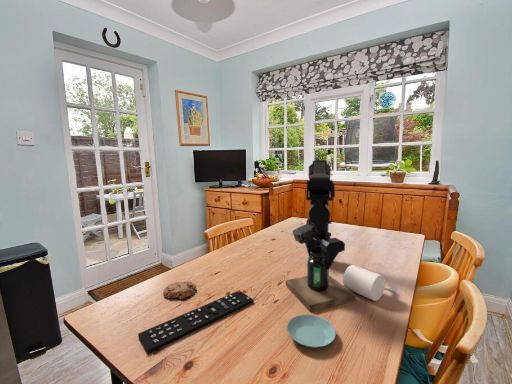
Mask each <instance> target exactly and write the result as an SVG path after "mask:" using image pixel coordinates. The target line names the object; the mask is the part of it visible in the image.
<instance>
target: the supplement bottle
mask: <svg viewBox="0 0 512 384" xmlns="http://www.w3.org/2000/svg"><path fill="white" fill-rule="evenodd" d="M320 250H321V249H313V250H311V253H310V257H311V258H309V257H308V258H309V259H308V258H307V259H308V260H307V261H306V262H307V263H306V267H307V269H306V270H307V273H306V274H307V275H306V276H307V285H308V287H309V288H310V289H312V290H315V291H324V290H326V289H327V288H328V286H329V275H330V268H329V269H328V270H326V269H325V264H324V254H323V253H322V252H321V251H320Z"/></svg>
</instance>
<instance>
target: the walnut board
mask: <svg viewBox="0 0 512 384" xmlns="http://www.w3.org/2000/svg"><path fill="white" fill-rule="evenodd" d="M285 287H287V289H288V290H289V291H290V292H291V293H292V294H293V295H294V296H295V297H296V299H297V300H299V301H300V303H301V304H302V306H304V307H305V308H306V309H307V311H308V312H313V311H317V310H323V309H326V308H330V307H334V306H337V305H343V304H346V303H350V302H354V301H356V294H355V292H354V291H351V290H349V289H347V288H346V287H345V286H344V284H342V283H341V282H339V280H336V279H335V278H334V277H332V276H331V275H330V274H329V286H328V288H327V289H326V290H324V291H315V290H312V289H310V288H309V287H308V285H307V275H305V276H300V277H297V278H296V277H295V278H291V279H286V280H285Z"/></svg>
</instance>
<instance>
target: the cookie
mask: <svg viewBox="0 0 512 384" xmlns="http://www.w3.org/2000/svg"><path fill="white" fill-rule="evenodd" d="M196 289H197V284H195V283H193V282H192V281H175V282H173V283H170V284H168V285H167V286H166V287H165V288H164V289H163V293H162V295H163V297H164V298H167V299H175V298H176V299H178V300H183V299H185V298H187V297H191V296H193V295H194V294H195V292H196Z"/></svg>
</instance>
